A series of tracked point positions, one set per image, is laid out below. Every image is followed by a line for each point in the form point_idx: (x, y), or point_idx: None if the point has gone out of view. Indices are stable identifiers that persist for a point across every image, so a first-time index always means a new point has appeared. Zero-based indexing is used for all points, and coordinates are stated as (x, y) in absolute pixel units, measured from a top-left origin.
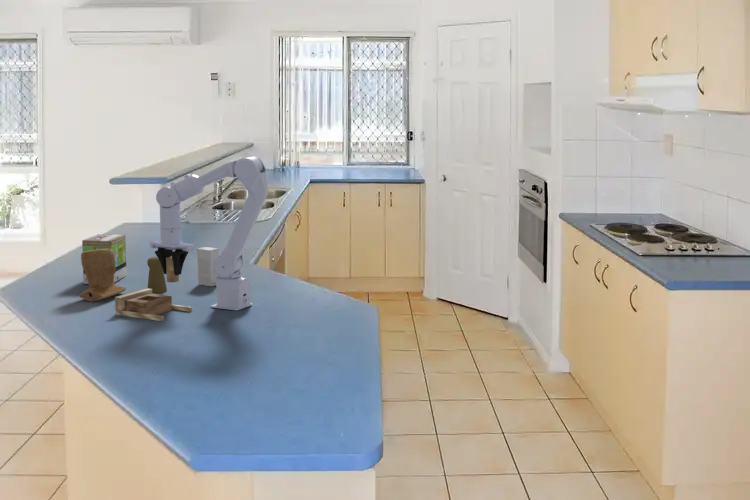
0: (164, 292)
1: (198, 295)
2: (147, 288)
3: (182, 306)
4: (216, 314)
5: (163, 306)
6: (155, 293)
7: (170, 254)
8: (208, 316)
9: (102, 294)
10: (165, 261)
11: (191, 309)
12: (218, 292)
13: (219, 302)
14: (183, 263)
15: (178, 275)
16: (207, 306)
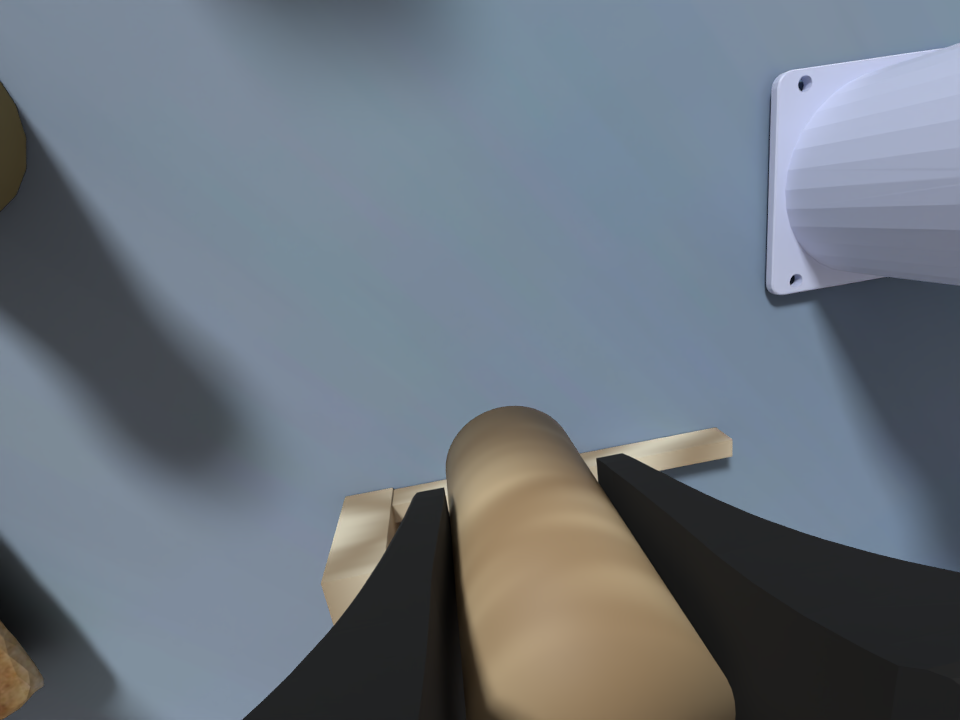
0: (17, 115)
1: (385, 9)
2: (333, 583)
3: (669, 467)
4: (892, 390)
5: None
6: (4, 205)
7: (430, 717)
8: (873, 448)
9: (3, 697)
10: (458, 717)
11: (722, 436)
12: (941, 281)
13: (871, 274)
14: (742, 512)
15: (582, 459)
16: (721, 274)
